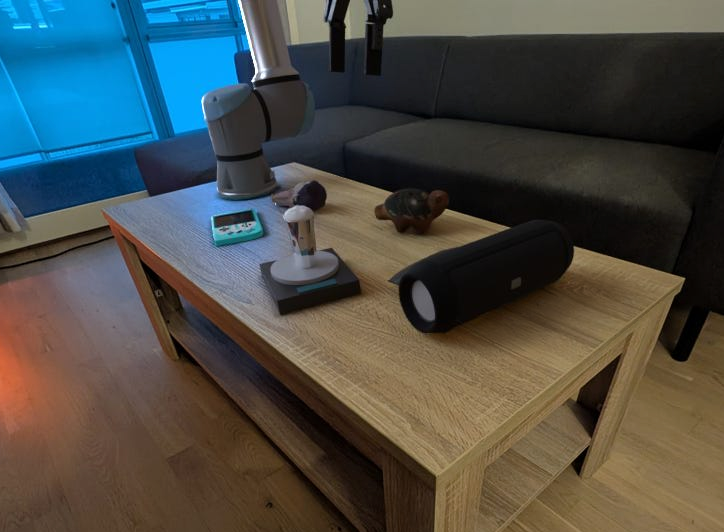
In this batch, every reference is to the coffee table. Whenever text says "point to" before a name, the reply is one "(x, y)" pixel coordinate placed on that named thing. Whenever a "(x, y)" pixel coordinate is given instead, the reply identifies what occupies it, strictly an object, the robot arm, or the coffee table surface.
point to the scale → (309, 281)
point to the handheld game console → (236, 227)
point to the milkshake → (302, 235)
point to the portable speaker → (484, 275)
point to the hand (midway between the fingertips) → (353, 73)
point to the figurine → (303, 196)
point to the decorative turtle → (412, 209)
